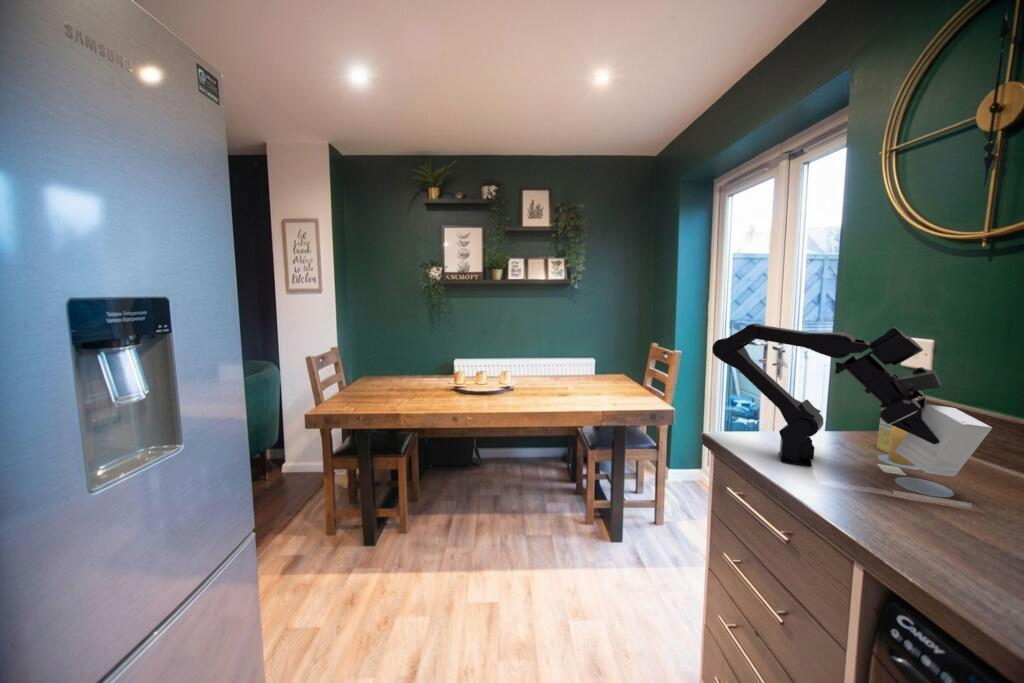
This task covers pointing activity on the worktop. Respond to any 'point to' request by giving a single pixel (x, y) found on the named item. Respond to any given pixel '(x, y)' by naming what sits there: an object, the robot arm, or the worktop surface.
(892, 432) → the amber tube
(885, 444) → the candy box
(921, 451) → the supplement box
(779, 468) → the worktop surface
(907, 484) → the white board
